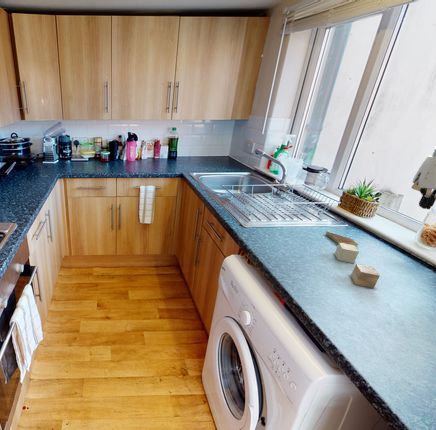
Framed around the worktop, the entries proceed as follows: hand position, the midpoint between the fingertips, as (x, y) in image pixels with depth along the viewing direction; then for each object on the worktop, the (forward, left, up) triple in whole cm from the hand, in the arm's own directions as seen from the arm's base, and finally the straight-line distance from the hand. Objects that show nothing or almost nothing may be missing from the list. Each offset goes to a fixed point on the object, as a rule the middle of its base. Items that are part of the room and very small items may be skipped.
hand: (424, 207), depth 98 cm
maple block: (+16, +20, -22) cm, 34 cm away
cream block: (+18, +5, -22) cm, 29 cm away
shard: (+16, -9, -23) cm, 29 cm away
